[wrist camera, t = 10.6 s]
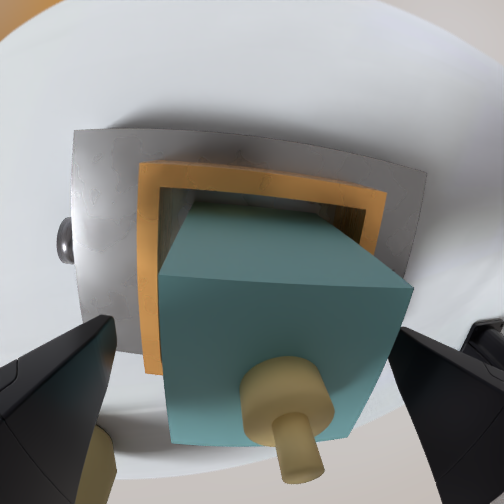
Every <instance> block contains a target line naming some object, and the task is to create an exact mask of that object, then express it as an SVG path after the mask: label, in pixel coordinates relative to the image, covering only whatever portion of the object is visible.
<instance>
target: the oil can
mask: <svg viewBox="0 0 504 504" xmlns="http://www.w3.org/2000/svg"><path fill="white" fill-rule="evenodd" d="M413 290H414V287H412V286H411V285H410V284H409V283H407V282H406V281H405V280H404V279H402V278H401V277H400V276H399V275H397V274H396V273H395V272H394V271H392V270H391V269H390V268H389V267H387V266H386V265H385V264H383V263H382V262H381V261H380V260H378V259H377V258H376V257H374V256H373V255H372V254H371V253H369V252H368V251H367V250H365V249H364V248H363V247H361V246H360V245H359V244H357V243H356V242H355V241H353V240H352V239H351V238H349V237H348V236H347V235H345V234H344V233H342V232H341V231H340V230H338V229H337V228H336V227H334V226H333V225H331V224H330V223H329V222H327V221H326V220H324V219H323V218H322V217H320V216H319V215H317V214H316V213H310V212H301V211H292V210H283V209H273V208H263V207H253V206H242V205H231V204H219V203H206V202H194V203H193V205H192V207H191V209H190V211H189V213H188V214H187V216H186V218H185V220H184V222H183V224H182V226H181V228H180V230H179V232H178V234H177V236H176V238H175V240H174V242H173V244H172V246H171V249H170V251H169V253H168V255H167V257H166V259H165V261H164V263H163V265H162V267H161V270H160V272H159V274H158V294H159V322H160V340H161V355H162V367H163V379H164V389H165V398H166V407H167V415H168V422H169V429H170V436H171V443H175V444H186V445H200V446H227V447H249V446H269V447H276V451H277V456H278V461H279V466H280V470H281V475H282V480H283V482H285V483H287V484H301V483H306V482H309V481H312V480H314V479H316V478H318V477H320V476H321V475H322V474H323V473H324V470H325V469H324V466H323V463H322V460H321V457H320V454H319V451H318V448H317V444H316V442H319V441H327V440H334V439H340V438H346V437H348V435H349V434H350V432H351V430H352V428H353V427H354V425H355V423H356V421H357V420H358V418H359V416H360V414H361V412H362V410H363V409H364V407H365V405H366V403H367V401H368V399H369V397H370V395H371V393H372V391H373V389H374V387H375V385H376V383H377V381H378V379H379V376H380V374H381V372H382V370H383V368H384V366H385V363H386V361H387V359H388V357H389V354H390V352H391V349H392V347H393V345H394V342H395V340H396V337H397V335H398V332H399V330H400V327H401V324H402V322H403V319H404V316H405V314H406V311H407V308H408V305H409V302H410V299H411V296H412V293H413Z"/></svg>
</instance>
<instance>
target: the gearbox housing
mask: <svg viewBox="0 0 504 504" xmlns="http://www.w3.org/2000/svg"><path fill="white" fill-rule="evenodd" d="M426 177H427V173H425V172H422V171H419V170H416V169H412V168H409V167H405V166H402V165H398V164H394V163H391V162H387V161H383V160H379V159H375V158H371V157H367V156H363V155H358V154H354V153H349V152H345V151H340V150H335V149H330V148H325V147H320V146H315V145H309V144H303V143H298V142H291V141H285V140H278V139H271V138H264V137H256V136H248V135H240V134H230V133H219V132H208V131H194V130H176V129H141V128H120V129H87V130H74V139H73V152H72V174H71V216H72V217H67V218H65V219H64V220H63V221H62V223H61V225H60V227H59V230H58V234H57V252H58V256H59V258H60V260H61V261H62V262H63V263H66V264H75V272H76V280H77V288H78V295H79V302H80V308H81V314H82V320H83V323H85V322H87V321H89V320H91V319H93V318H94V317H96V316H98V315H101V314H103V315H110V316H113V317H114V320H115V327H116V334H117V348H116V351H121V352H128V353H135V354H142V355H143V359H144V367H145V373H147V374H155V375H163V367H162V355H161V340H160V322H159V294H158V274H159V272H160V270H161V267H162V265H163V263H164V261H165V259H166V257H167V255H168V253H169V251H170V249H171V246H172V244H173V242H174V240H175V238H176V236H177V234H178V232H179V230H180V228H181V226H182V224H183V222H184V220H185V218H186V216H187V214H188V213H189V211H190V209H191V207H192V205H193V203H194V202H206V203H219V204H231V205H242V206H253V207H263V208H273V209H283V210H292V211H301V212H310V213H316V214H317V215H319V216H320V217H322V218H323V219H324V220H326V221H327V222H329V223H330V224H331V225H333V226H334V227H336V228H337V229H338V230H340V231H341V232H342V233H344V234H345V235H347V236H348V237H349V238H351V239H352V240H353V241H355V242H356V243H357V244H359V245H360V246H361V247H363V248H364V249H365V250H367V251H368V252H369V253H371V254H372V255H373V256H374V257H376V258H377V259H378V260H380V261H381V262H382V263H383V264H385V265H386V266H387V267H389V268H390V269H391V270H392V271H394V272H395V273H396V274H397V275H399V276H400V277H401V278H402V279H403V277H404V274H405V270H406V267H407V263H408V260H409V256H410V252H411V248H412V245H413V241H414V236H415V232H416V228H417V224H418V219H419V214H420V210H421V205H422V200H423V194H424V189H425V183H426Z"/></svg>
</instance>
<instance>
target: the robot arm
mask: <svg viewBox="0 0 504 504" xmlns="http://www.w3.org/2000/svg"><path fill="white" fill-rule="evenodd" d="M503 325H504V321H503V320H496V321H490V322H483V323H476V324H474V325H473V326H472V327H471V329H470V332H469V334H468V336H467V338H466V340H465V342H464V344H463V346H462V348H461V350H460V351H457V350H455V349H453V348H451V347H449V346H447V345H444V344H442V343H440V342H438V341H436V340H433V339H431V338H429V337H427V336H425V335H422V334H420V333H418V332H416V331H414V330H412V329H409V328H407V327H400V330H399V332H398V335H397V337H396V340H395V342H394V345H393V347H392V349H391V352H390V354H389V357H388V360H389V363H390V366H391V369H392V372H393V375H394V378H395V381H396V384H397V386H398V389H399V391H400V394H401V396H402V398H403V401H404V403H405V405H406V407H407V410H408V412H409V415H410V416H411V419H412V422H413V424H414V426H415V429H416V432H417V434H418V436H419V439H420V442H421V444H422V447H423V449H424V452H425V455H426V457H427V460H428V463H429V465H430V468H431V471H432V473H433V477H434V479H435V482H436V486H437V489H438V492H439V495H440V498H441V501H442V504H490V503H491V504H504V335H502V334H501V333H500V332H501V330H502V327H503ZM116 348H117V334H116V327H115V320H114V317H113V316H110V315H103V314H101V315H98V316H96V317H94V318H93V319H91V320H89V321H87V322H85V323H83V324H81V325H79V326H77V327H76V328H74V329H72V330H70V331H68V332H66V333H64V334H62V335H60V336H59V337H57V338H55V339H53V340H51V341H49V342H47V343H45V344H44V345H42V346H40V347H38V348H36V349H34V350H32V351H31V352H29V353H27V354H25V355H23V356H21V357H19V358H18V360H17V359H16V360H14V361H12V362H10V363H8V364H7V365H5V366H3V367H1V368H0V504H75V501H76V496H77V491H78V487H79V483H80V479H81V475H82V471H83V467H84V463H85V459H86V455H87V452H88V448H89V445H90V441H91V438H92V434H93V431H94V428H95V424H96V421H97V418H98V415H99V412H100V408H101V405H102V402H103V399H104V396H105V393H106V390H107V387H108V383H109V378H110V374H111V369H112V365H113V360H114V356H115V352H116Z"/></svg>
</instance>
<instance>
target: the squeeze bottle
mask: <svg viewBox="0 0 504 504" xmlns="http://www.w3.org/2000/svg"><path fill="white" fill-rule="evenodd" d="M116 473H117V469H116V463H115V457H114V450H113V443H112V441H111V438H110V436H109V435H108V434H107V433H106V432H105V431H104V430H102V429H101V428H99V427H98V426H96V425H95V428H94V431H93V434H92V438H91V441H90V445H89V448H88V452H87V455H86V459H85V463H84V467H83V471H82V475H81V479H80V483H79V487H78V491H77V496H76V501H75V504H106V503H107V501H108V497H109V494H110V491H111V488H112V485H113V482H114V479H115V476H116Z"/></svg>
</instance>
